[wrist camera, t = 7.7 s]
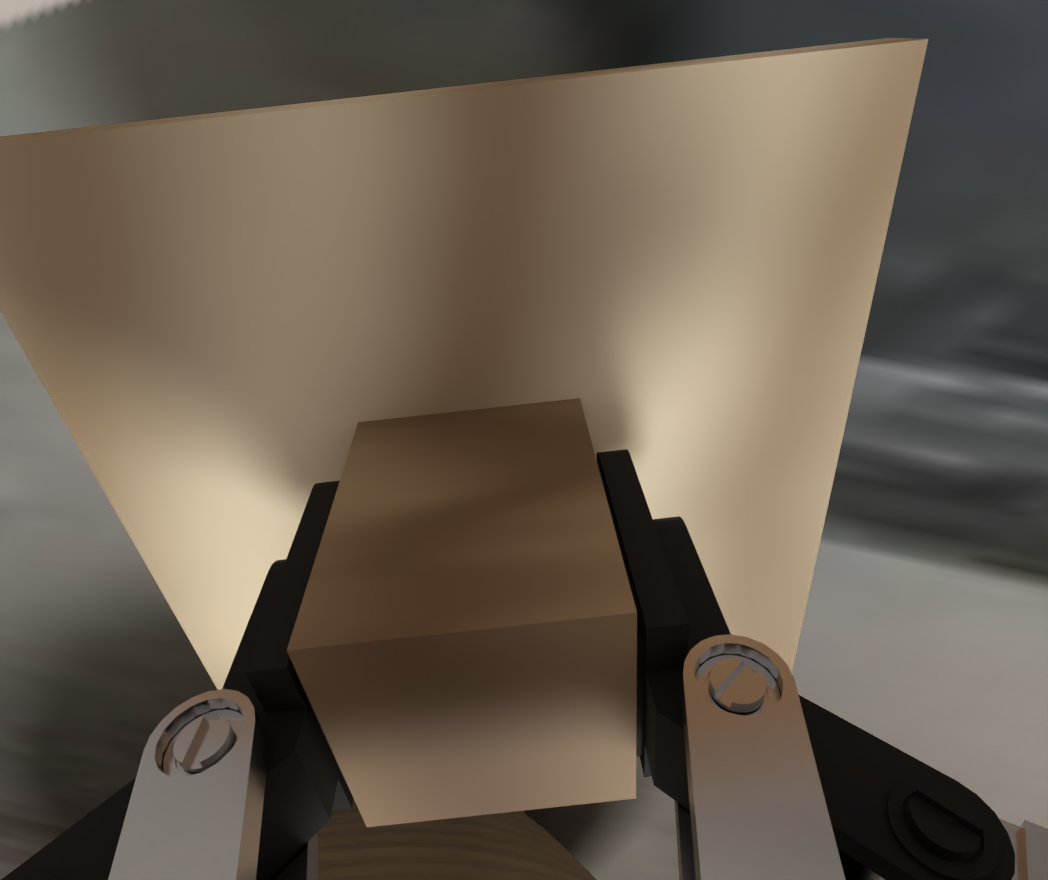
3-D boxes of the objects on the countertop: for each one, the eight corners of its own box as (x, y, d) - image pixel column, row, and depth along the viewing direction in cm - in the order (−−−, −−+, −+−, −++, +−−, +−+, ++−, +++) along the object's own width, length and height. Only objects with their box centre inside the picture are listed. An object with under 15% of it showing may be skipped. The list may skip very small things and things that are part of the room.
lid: (889, 37, 10) (1348, 48, 4) (774, 650, 17) (897, 909, 12) (-41, 140, 10) (-621, 266, 5) (258, 705, 17) (166, 986, 12)
